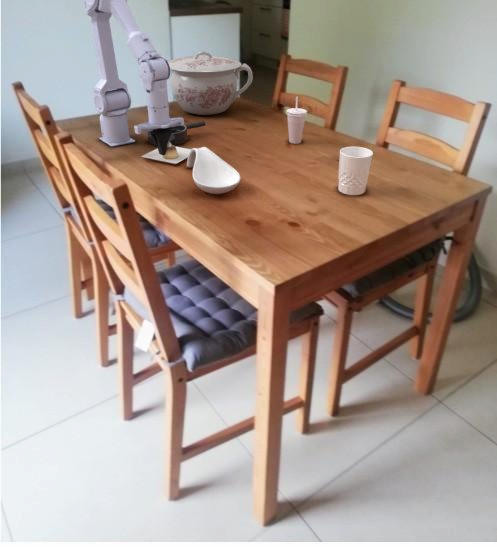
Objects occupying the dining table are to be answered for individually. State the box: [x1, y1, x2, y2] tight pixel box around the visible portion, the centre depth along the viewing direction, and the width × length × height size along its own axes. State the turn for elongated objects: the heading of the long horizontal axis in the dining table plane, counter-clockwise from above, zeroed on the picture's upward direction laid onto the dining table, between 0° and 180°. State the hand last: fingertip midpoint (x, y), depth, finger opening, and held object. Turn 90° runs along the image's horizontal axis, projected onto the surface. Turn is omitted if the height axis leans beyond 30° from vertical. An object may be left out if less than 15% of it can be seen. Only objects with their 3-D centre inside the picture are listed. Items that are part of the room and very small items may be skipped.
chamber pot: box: [167, 50, 254, 116], centre depth 181 cm, size 28×28×21 cm
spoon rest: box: [186, 146, 241, 195], centre depth 127 cm, size 24×12×7 cm, turn 24°
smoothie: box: [286, 95, 308, 145], centre depth 153 cm, size 6×6×14 cm
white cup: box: [337, 146, 374, 196], centre depth 122 cm, size 8×8×10 cm
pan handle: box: [184, 120, 206, 130], centre depth 160 cm, size 2×8×2 cm, turn 127°
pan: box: [146, 124, 188, 146], centre depth 156 cm, size 12×12×4 cm
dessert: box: [141, 141, 192, 166], centre depth 143 cm, size 12×12×5 cm
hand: (162, 154), depth 142 cm, fingers closed
